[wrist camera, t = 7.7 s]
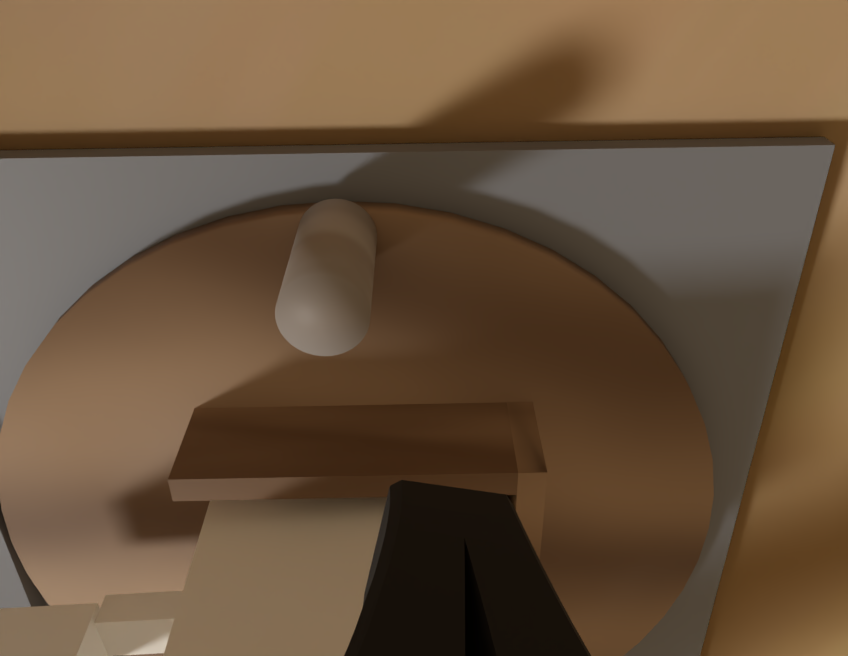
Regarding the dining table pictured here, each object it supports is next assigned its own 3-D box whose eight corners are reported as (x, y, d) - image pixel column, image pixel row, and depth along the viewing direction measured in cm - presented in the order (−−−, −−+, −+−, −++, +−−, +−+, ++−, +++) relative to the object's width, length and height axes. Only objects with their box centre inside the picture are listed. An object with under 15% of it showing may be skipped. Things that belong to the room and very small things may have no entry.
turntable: (655, 715, 26) (689, 840, 23) (98, 726, 26) (53, 853, 23) (778, 179, 16) (867, 264, 13) (-106, 195, 16) (-234, 284, 13)
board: (-220, 734, 27) (-242, 766, 26) (-645, 161, 16) (-709, 180, 15) (676, 716, 27) (685, 748, 26) (823, 137, 17) (849, 155, 16)
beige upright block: (490, 438, 19) (519, 659, 14) (495, 615, 23) (520, 846, 17) (1, 467, 19) (-144, 694, 14) (79, 639, 23) (-18, 872, 18)
